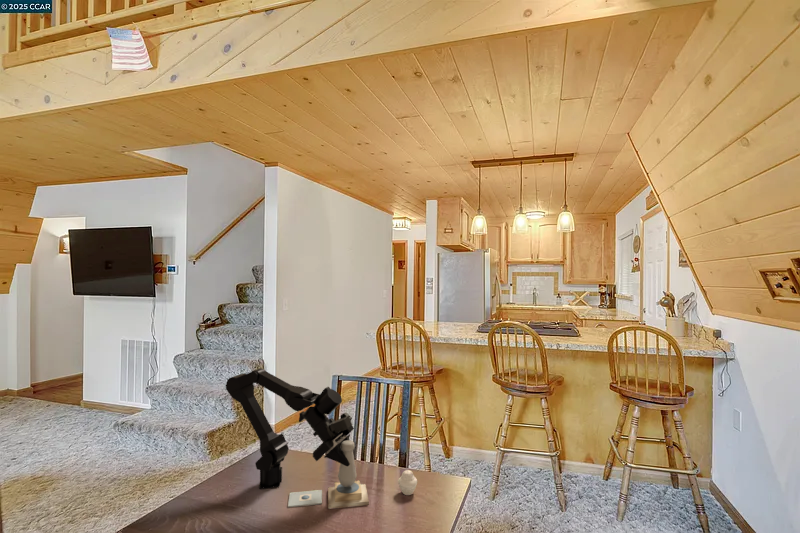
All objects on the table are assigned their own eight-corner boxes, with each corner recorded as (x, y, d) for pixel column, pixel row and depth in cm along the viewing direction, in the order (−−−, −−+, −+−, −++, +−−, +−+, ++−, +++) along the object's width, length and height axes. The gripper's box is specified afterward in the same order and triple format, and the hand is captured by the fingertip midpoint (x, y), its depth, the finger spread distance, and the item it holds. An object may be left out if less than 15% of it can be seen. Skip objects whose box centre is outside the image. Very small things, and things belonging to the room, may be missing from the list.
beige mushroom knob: (348, 490, 127) (348, 447, 127) (334, 484, 131) (334, 443, 131) (360, 482, 132) (360, 440, 132) (346, 477, 135) (346, 436, 136)
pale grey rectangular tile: (287, 507, 125) (287, 505, 125) (289, 493, 133) (289, 492, 133) (321, 504, 127) (321, 502, 127) (321, 491, 135) (321, 489, 135)
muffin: (414, 486, 138) (414, 465, 138) (419, 496, 132) (419, 473, 132) (396, 489, 136) (396, 467, 136) (400, 498, 130) (400, 475, 130)
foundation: (328, 508, 125) (328, 498, 125) (328, 490, 135) (328, 480, 136) (368, 504, 127) (368, 494, 127) (365, 487, 138) (365, 477, 138)
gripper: (322, 416, 124) (356, 459, 121) (349, 399, 142) (379, 436, 138) (298, 439, 126) (331, 482, 123) (327, 420, 144) (356, 457, 140)
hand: (351, 463), depth 131 cm, fingers closed on beige mushroom knob, 3 cm apart
